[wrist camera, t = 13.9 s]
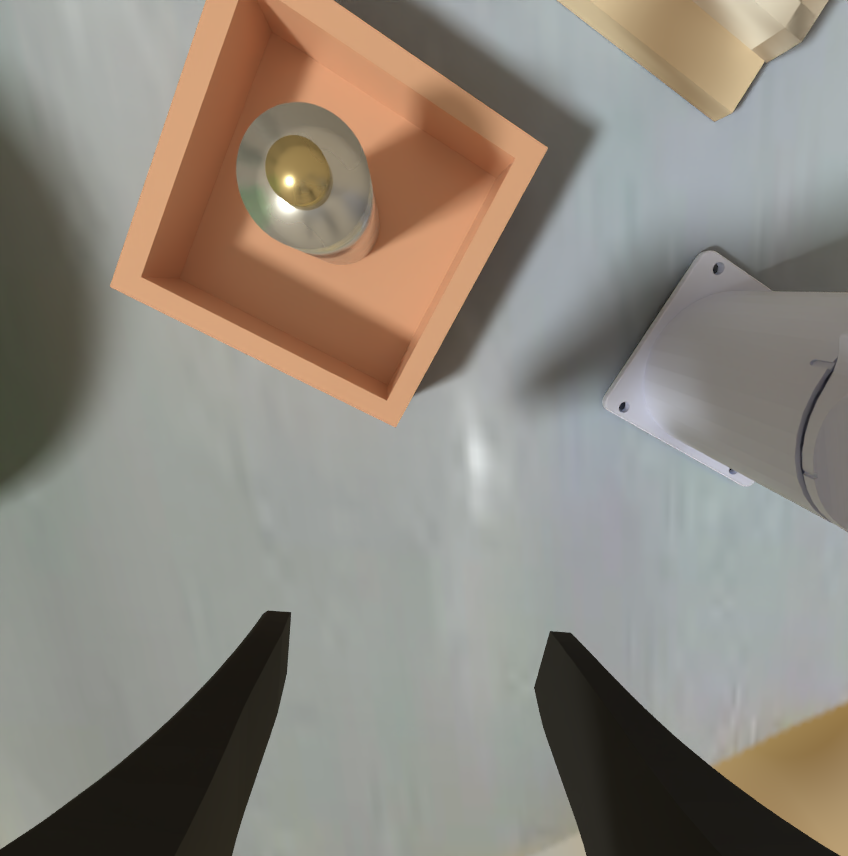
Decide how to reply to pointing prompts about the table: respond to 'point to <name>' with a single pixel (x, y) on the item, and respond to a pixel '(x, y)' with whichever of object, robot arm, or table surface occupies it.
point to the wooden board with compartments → (702, 41)
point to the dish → (393, 188)
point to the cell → (308, 183)
